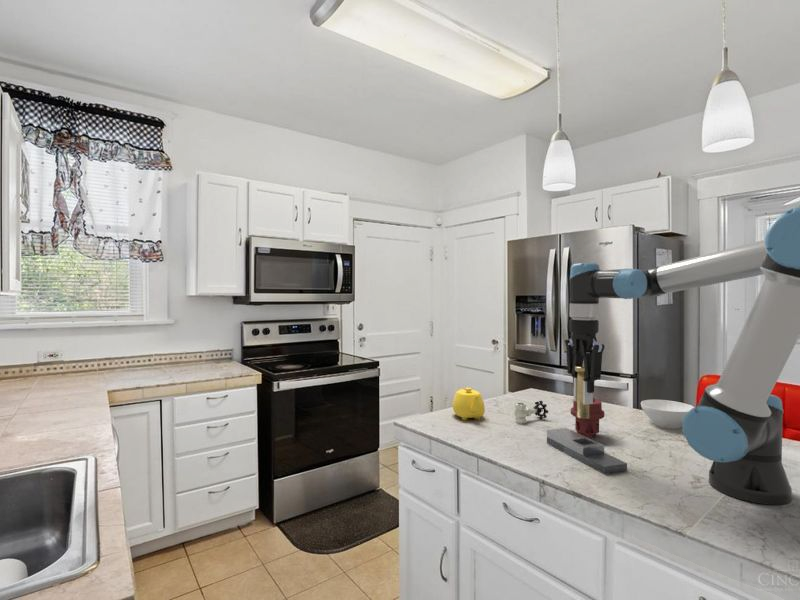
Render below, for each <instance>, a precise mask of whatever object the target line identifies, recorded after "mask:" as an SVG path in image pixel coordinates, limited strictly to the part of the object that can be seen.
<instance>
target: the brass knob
mask: <svg viewBox="0 0 800 600" xmlns="http://www.w3.org/2000/svg"><path fill="white" fill-rule="evenodd" d="M575 371H576V372H577V417H578V418H582V419H588V418H589V404H583V379H585V368H584V365H583V366H575Z"/></svg>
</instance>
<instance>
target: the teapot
mask: <svg viewBox="0 0 800 600" xmlns="http://www.w3.org/2000/svg"><path fill="white" fill-rule="evenodd" d="M485 407H486V406H485V402H484V400H483V397H482V395H481V393H480V391H478V390H475V389H473V388H471V387H465V388H460V389H459V390H457V391H456V392H455V394H454V397H453V401H452V410H453V412H454V414H455V415H456V417H460V418H461V421H468V419H470V418H471V419H473V418H474V419H475V420H481V418H482V417H483V416H484V414H485V411H486V409H485Z"/></svg>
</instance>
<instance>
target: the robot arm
mask: <svg viewBox="0 0 800 600" xmlns="http://www.w3.org/2000/svg"><path fill="white" fill-rule="evenodd" d="M569 273H570V274H569V294H570V295H569V296H570V297H569V314H568V315H569V317H570V319H569V332H570V333H572V334H571V337H570V338H569V339H565V340H564V345H565V349H566V369H567V370H566V371H567V374H569V375H571V377H572V388H573V399H574V401H577V372H576V371H575V366H584V368H585V379H583V404H593V398H594V393H595V381H599V380H601V377H602V365H603V364H602V362H603V353H604V350H605V345H604V344H601V343H599V342H598V339H597V334H598V333H599V332H600V331H599V328H600V327H599V326H600V325H599V319H598V318H600V317H599V316H600V315H599V310H600V309H599V306H600V305H599V304H600V299H604V298H605V299H624V300H629V299H630V300H631V299H640V298H646V299H652V298H657V297H661V296H662V295H666V294H671V293H675V292H676V293H677V292H680V291H686V290H691V289H696V288H701V287H706V286H711V285H717V284H722V283H728V282H732V281H736V280H742V279H747V278H748V279H749V278H754V277H758V276H764V281H763V282H762V285H761V287H760V289H759V292H758V294H757V296H756V298H755V300H754V302H753V305H752V307H751V310H750V311H749V314H748V315H747V318H746V320H745V322H744V324H743V326H742V329H741V330H740V333H739V335H738V337H737V339H736V342H735V344H734V346H733V349H732V350H731V353H730V355H729V357H728V360H727V362H726V364H725V366H724V368H723V370H722V372H721V375H720V377H719V379H718V381H717V382H716V383H714V384H713V383H712V384H710V385H707V386H706V387H705V389H704V391H703V392H702V395H701V397H700V399H699V402H698V403H697V406H695V407H694V408H692V409H691V410H690V411H689V412H688V413H687V414H686V415H685V417H684V419H683V423H682V426H681V427H682V429H681V430H682V434H683V436H684V437H685V439H686V441H687V444H688V445H689V446H690V447H691V449H693V450H694V451H695V452H696V453H697V454H699V456H701V457H703V458H704V459H708V460H709V461H712V464H711V466H710V469H709V471H708V483H709V484H710V486H711V487H712V488H714V489H715V490H717V491H718V492H721V493H722V494H725V495H727V496H729V497H733V498H736V499H739V500H743V501H746V502H751V503H756V504H762V505H771V506H772V505H773V506H774V505H775V506H777V505H785V504H786V505H787V504H789V503H791V502H792V501H793V500H792V499H793V498H792V497H793V496H792V495H793V494H792V493H793V491H792V486H791V485H790V482H789V479H788V476H787V474H786V471H785V468H784V465H783V460H782V457H783V417H784V416H783V414H784V409H783V401H782V399H781V397H779V396H777V395H774V394H771V393H772V392H773V390H774V388H775V385H776V383H777V382H778V380H779V378H780V376H781V373H782V372H783V370H784V367H785V366H786V363H787V362H788V360H789V358H790V356H791V354H792V352H793V349H794V348H795V346H796V343H797V341H798V340H799V338H800V205H799V206H795V207H792V208H790V209H788V210H787V211H784V212H783V213H781V214H780V215H779V216H777V217H776V218H775V219H774V220H773V221H772V222H771V224H769V227H768V228H767V231H766V233H765V236H764V239H763V240H759V241H755V242H751V243H747V244H743V245H739V246H735V247H730V248H727V249H723V250H719V251H715V252H711V253H708V254H703V255H698V256H696V257H690V258H688V259H682V260H679V261H675V262H671V263H668V264H664V265H660V266H655V267H651V268H647V269H638V268H620V269H605V270H603V269H600V264H598V263H597V262H596V263H595V262H592V263H591V262H590V263H589V262H586V263H582V262H581V263H574V264H572V265H571V266H570V272H569Z"/></svg>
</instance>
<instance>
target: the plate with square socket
mask: <svg viewBox="0 0 800 600" xmlns="http://www.w3.org/2000/svg"><path fill="white" fill-rule="evenodd" d="M546 444H548V445H550V446H551V447H553V448H555V449H557V450H559V451H560V452H562V453H564V454H566V455H568V456H570V457H572V458H574V459H575V460H577V461H578V462H581V463H583V464H585V465H586V466H588V467H590V468H592V469H594V470H596V471H597V472H599V473H601V474H602V475H611V474H616V473H617V474H618V473H623V472H628V463H627V462H625V461H623V460H621V459H619V458H617V457H615V456H613V455H610V454H608V453H606V452H605V444H602V443H600V442H598V441H596V440H594V439H592V438H591V439H590V438H587V437H585V436H583V435H581V434H579V433H577V431H574V430H572V429H569V428H568V427H563V428H554V429H547V430H546Z"/></svg>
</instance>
